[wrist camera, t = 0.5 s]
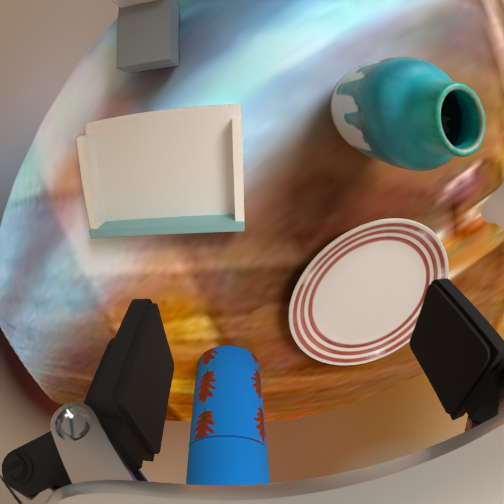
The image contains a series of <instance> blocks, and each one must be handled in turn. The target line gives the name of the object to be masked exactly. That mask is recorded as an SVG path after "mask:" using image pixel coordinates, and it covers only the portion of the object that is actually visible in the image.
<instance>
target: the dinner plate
mask: <svg viewBox="0 0 504 504" xmlns="http://www.w3.org/2000/svg"><path fill="white" fill-rule="evenodd" d="M448 272H449V268H448V259H447V254H446V251H445V248H444V246H443V244H442V242H441V241H440V239H439V238H438V236H437V235H436V234H435V233H434V232H433V231H432V230H430V229H429V228H428V227H426V226H425V225H423V224H420V223H418V222H415V221H412V220H408V219H400V218H390V219H382V220H377V221H373V222H370V223H366V224H364V225H361V226H358V227H356V228H354V229H352V230H350V231H348V232H346V233H344V234H343V235H341V236H339V237H338V238H336V239H335V240H334V241H332V242H331V243H330V244H329V245H327V246H326V247H325V248H324V249H323V250H322V251H321V252H319V254H318V255H317V256H316V257H315V258H314V259H313V260H312V261H311V262H310V264H309V265H308V266H307V268H306V269H305V270H304V272H303V273H302V275H301V277H300V278H299V280H298V282H297V284H296V286H295V288H294V291H293V294H292V297H291V300H290V305H289V326H290V330H291V334H292V336H293V338H294V340H295V342H296V344H297V345H298V346H299V347H300V348H301V350H302V351H304V352H305V353H306V354H307V355H309V356H310V357H312V358H314V359H316V360H318V361H321V362H324V363H328V364H333V365H356V364H362V363H367V362H370V361H374V360H376V359H379V358H382V357H384V356H386V355H388V354H390V353H392V352H394V351H396V350H397V349H399V348H401V347H402V346H403V345H405V344H406V343H408V342H409V341H410V338H411V336H412V333H413V330H414V328H415V325H416V322H417V319H418V316H419V313H420V310H421V307H422V304H423V301H424V298H425V295H426V291H427V288H428V286H429V285H430V284H431V282H432V281H433V280H436V279H444V278H447V279H448Z"/></svg>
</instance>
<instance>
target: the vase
mask: <svg viewBox="0 0 504 504" xmlns="http://www.w3.org/2000/svg"><path fill="white" fill-rule="evenodd" d="M330 111H331V117H332V120H333V123H334V125H335V128H336V129H337V131H338V132H339V134H340V135H341V136H342V138H343V139H344V140H345V141H346V142H347V143H349V144H350V145H351V146H352V147H354V148H355V149H357V150H359V151H360V152H362V153H364V154H366V155H368V156H370V157H372V158H374V159H377V160H379V161H381V162H384V163H387V164H390V165H393V166H396V167H400V168H404V169H409V170H417V171H425V170H432V169H436V168H438V167H440V166H442V165H444V164H446V163H447V162H448V161H450V160H451V159H452V158H453V157H454V156H459V157H465V156H469V155H471V154H473V153H474V152H476V151H477V150H478V148H479V147H480V146H481V144H482V142H483V139H484V136H485V131H486V117H485V112H484V108H483V106H482V103H481V101H480V99H479V98H478V96H477V95H476V93H475V92H474V91H473V90H472V89H471V88H469V87H468V86H466V85H465V84H462V83H459V82H453V81H452V80H451V79H450V77H449V76H448V75H447V74H446V73H445V72H444V71H442V70H441V69H440V68H438V67H437V66H435V65H433V64H432V63H430V62H428V61H425V60H421V59H418V58H410V57H397V58H388V59H383V60H378V61H375V62H372V63H368V64H365V65H363V66H360V67H358V68H356V69H354V70H353V71H351V72H349V73H348V74H346V75H345V76H344V77H343V78H342V79H341V80H340V81H339V82H338V83H337V85H336V87H335V88H334V90H333V93H332V96H331V101H330Z"/></svg>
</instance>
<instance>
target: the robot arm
mask: <svg viewBox="0 0 504 504" xmlns="http://www.w3.org/2000/svg"><path fill="white" fill-rule="evenodd" d="M410 348H411V350H412V351H413V353H414V355H415V356H416V358H417V360H418V362H419V363H420V365H421V367H422V369H423V370H424V372H425V374H426V376H427V377H428V379H429V381H430V383H431V385H432V387H433V388H434V390H435V392H436V394H437V396H438V398H439V400H440V402H441V404H442V405H443V407H444V409H445V411H446V413H448V414H450V416H451V418H452V420H455V419H457V418H459V417H462V416H463V415H464V414H465V413H466V412H467V414H468V419H467V423H466V428H465V432H464V433H462V434H459V435H457V436H455V437H453V438H451V439H448V440H446V441H444V442H441V443H439V444H437V445H434V446H431V447H429V448H426V449H423V450H421V451H418V452H415V453H412V454H410V455H407V456H404V457H401V458H397V459H394V460H391V461H388V462H384V463H381V464H377V465H374V466H370V467H366V468H362V469H358V470H354V471H349V472H345V473H340V474H335V475H329V476H324V477H318V478H312V479H305V480H299V481H290V482H280V483H268V484H252V485H188V484H173V483H159V482H148V480H147V479H146V477H145V476H144V475H143V473H142V472H141V471H140V468H141V467H142V462H143V460H145V461H153V459H154V454H158V453H159V452H160V447H161V441H162V435H163V428H164V422H165V416H166V410H167V405H168V399H169V393H170V388H171V382H172V377H173V372H174V362H173V358H172V355H171V352H170V348H169V345H168V342H167V338H166V335H165V331H164V327H163V324H162V320H161V316H160V313H159V309H158V305H157V304H156V303H152V301H151V300H150V299H133V300H132V302H131V304H130V306H129V308H128V310H127V312H126V314H125V317H124V319H123V321H122V323H121V325H120V328H119V330H118V332H117V334H116V337H115V338H113V339H111V340H110V342H109V343H108V346H107V348H106V350H105V353H104V355H103V357H102V360H101V362H100V364H99V367H98V369H97V371H96V374H95V376H94V379H93V381H92V384H91V386H90V389H89V391H88V394H87V396H86V399H85V402H84V404H83V403H79V402H72V403H69V404H65V405H64V406H62V407H60V408H59V409H58V410H57V411H56V412H55V414H54V416H53V417H52V420H51V431H50V432H48V433H46V434H44V435H43V436H40V437H38V438H37V439H35V440H33V441H31V442H29V443H27V444H25V445H23V446H21V447H19V448H17V449H15V450H13V451H11V452H10V453H8V454H7V456H6V457H5V458H4V461H3V464H2V475H0V504H504V340H503V339H502V338H501V337H500V335H499V334H498V333H497V332H496V331H495V329H494V328H493V327H492V326H491V325H490V324H489V322H488V321H487V320H486V319H485V318H484V317H483V315H482V314H481V313H480V312H479V311H478V310H477V309H476V308H475V307H474V305H473V304H472V303H471V302H470V301H469V300H468V299H467V298H466V297H465V296H464V295H463V294H462V293H461V292H460V290H459V289H458V288H457V287H456V286H455V285H454V284H453V283H452V282H451V281H450V280H449V279H447V278H444V279H436V280H433V281H432V282H431V284H430V285H429V286H428V288H427V291H426V295H425V298H424V301H423V304H422V307H421V310H420V313H419V316H418V319H417V322H416V325H415V328H414V330H413V333H412V336H411V338H410Z"/></svg>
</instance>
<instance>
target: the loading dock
mask: <svg viewBox="0 0 504 504" xmlns="http://www.w3.org/2000/svg"><path fill="white" fill-rule="evenodd" d="M85 128H86V135H84V136H79V137H76V138H77V148H78V157H79V165H80V172H81V179H82V185H83V191H84V197H85V203H86V208H87V213H88V218H89V223H90V228H91V230H90V231H89V232H90V237H91V238H105V237H123V236H142V235H162V234H184V233H208V232H235V231H245V223H244V186H243V144H242V109H241V104H228V105H209V106H195V107H184V108H174V109H165V110H157V111H150V112H143V113H136V114H130V115H124V116H119V117H113V118H108V119H103V120H98V121H93V122H89V123H85Z"/></svg>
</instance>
